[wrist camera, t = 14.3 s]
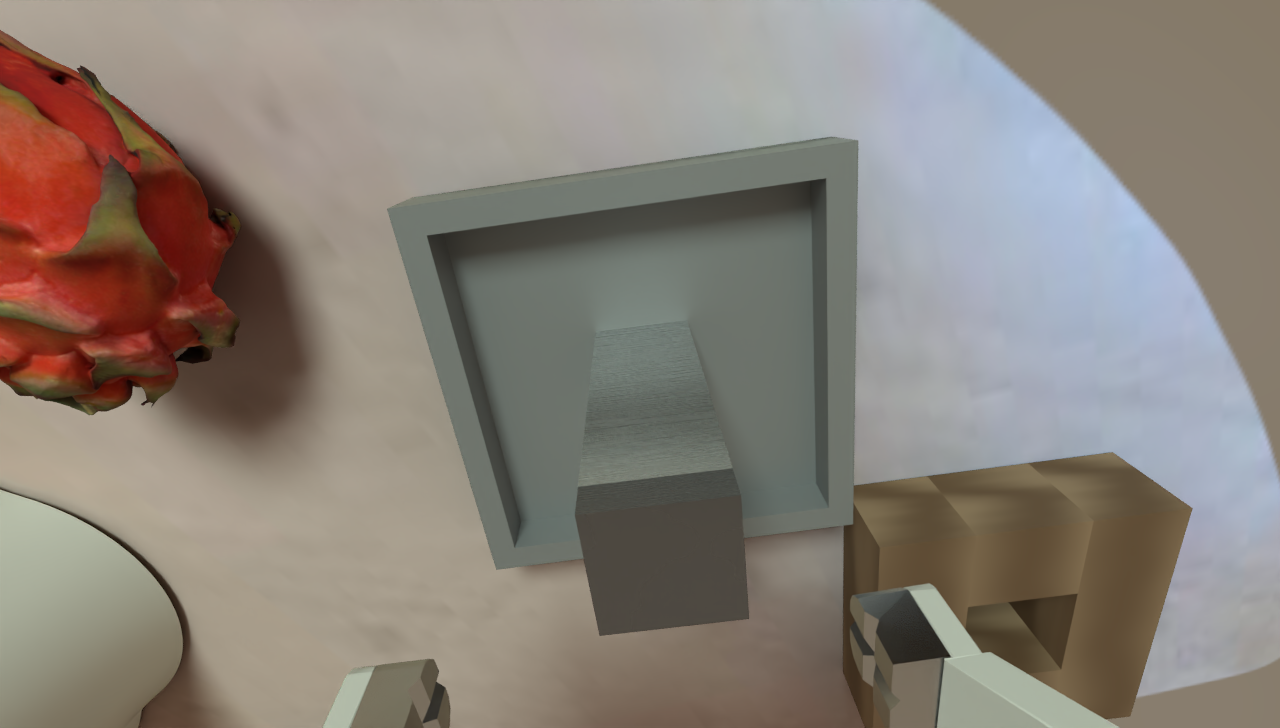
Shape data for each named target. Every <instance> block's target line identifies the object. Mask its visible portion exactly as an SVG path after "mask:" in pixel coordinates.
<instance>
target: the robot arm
mask: <svg viewBox="0 0 1280 728" xmlns="http://www.w3.org/2000/svg"><path fill="white" fill-rule="evenodd" d="M850 611H851V613H852V615H853V617H854V619H855V622H854V623H853V624H852V625H851V626H850V643H851V648H852V653H853V657H854V660H855V662H856V665H857V668H858V670H859V672H860V675H861V677H862V679H863V680H864V681H865V682H867V683H868V684H869V685H871V686H872V687H873V703H874V705H875V707H876V709H877V711H878V714H879V716H880V718H881V720H882V722H883V724H884V726H885V728H1119V727H1117V726H1116V725H1114V724H1112V723H1111V722H1109V721H1107V720H1105V719H1104V718H1102V717H1100V716H1099V715H1097V714H1095V713H1094V712H1092V711H1090V710H1088V709H1087V708H1085V707H1083V706H1082V705H1080V704H1078V703H1077V702H1075V701H1073V700H1071V699H1070V698H1068V697H1066V696H1065V695H1063V694H1061V693H1059V692H1058V691H1056V690H1054V689H1053V688H1051V687H1049V686H1048V685H1046V684H1044V683H1042V682H1041V681H1039V680H1037V679H1036V678H1034V677H1032V676H1030V675H1029V674H1027V673H1025V672H1024V671H1022V670H1020V669H1019V668H1017V667H1015V666H1013V665H1012V664H1010V663H1008V662H1007V661H1005V660H1003V659H1001V658H1000V657H998V656H996V655H995V654H993V653H991V652H986V653H982V652H981V650H980V649H979V648H978V646H977V645H976V643H975V642H974V641H973V639H972V638H971V636H970V635H969V634H968V632H967V631H966V629H965V628H964V627H963V625H962V624H961V623H960V621H959V620H958V618H957V617H956V616H955V614H954V613H953V611H952V610H951V609H950V607H949V606H948V604H947V603H946V602H945V600H944V599H943V597H942V596H941V595H940V593H939V592H938V590H937V589H936V588H935V587H934V586H933V585H931V584H930V583H928V584H922V585H915V586H909V587H904V588H901V587H900V588H894V589H888V590H882V591H876V592H869V593H863V594H857V595H852V598H851V600H850ZM182 651H183V637H182V630H181V626H180V622H179V619H178V616H177V614H176V611H175V609H174V607H173V605H172V603H171V601H170V599H169V598H168V596H167V594H166V593H165V591H164V590H163V588H162V587H161V586H160V584H159V583H158V582H157V580H156V579H155V578H154V577H153V576H152V574H151V573H150V572H149V571H148V570H147V569H146V568H145V567H144V566H143V565H142V564H141V563H140V562H139V561H138V560H137V559H136V558H135V557H134V556H133V555H131V554H130V553H129V552H128V551H127V550H125V549H124V548H123V547H122V546H120V545H119V544H118V543H116V542H115V541H114V540H112V539H111V538H109V537H108V536H106V535H105V534H103V533H102V532H100V531H98V530H97V529H95V528H93V527H92V526H90V525H88V524H87V523H85V522H83V521H81V520H79V519H77V518H75V517H73V516H71V515H69V514H67V513H65V512H62V511H60V510H58V509H55V508H53V507H51V506H48V505H45V504H43V503H40V502H37V501H34V500H31V499H28V498H25V497H21V496H18V495H15V494H12V493H9V492H6V491H3V490H0V728H138V726H139V722H140V718H141V712H142V709H143V707H144V706H145V705H146V704H147V703H148V702H150V701H151V700H152V699H153V698H154V697H155V696H156V695H157V694H158V693H159V692H161V691H162V690H163V689H164V688H165V687H166V686H167V685H168V683H169V682H170V681H171V680H172V678H173V677H174V675H175V673H176V671H177V669H178V667H179V664H180V661H181V657H182ZM438 674H439V670H438V667H437V665H436V663H435V661H434V659H424V660H416V661H407V662H399V663H391V664H383V665H377V666H369V667H362V668H354V669H352V670H351V671H350V672H349V673H348V675H347V676H346V677H345V679H344V681H343V684H342V686H341V688H340V690H339V692H338V695H337V697H336V699H335V701H334V703H333V706H332V708H331V710H330V712H329V714H328V717H327V719H326V721H325V723H324V725H323V728H449V727H450V702H449V696H448V693H447V691H446V688H445V687H444V686H442V685H441V684H439V683H437V682H436V681H437V677H438Z"/></svg>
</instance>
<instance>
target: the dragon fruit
mask: <svg viewBox="0 0 1280 728" xmlns="http://www.w3.org/2000/svg"><path fill="white" fill-rule="evenodd" d="M80 67H81V68H77V70H78V71H79V73H78V72H76V71H74V70H72V69H70V68H68V67H66V66H63V65H61V64H59V63H57V62H54V61H52V60H50V59H48V58H46V57H45V56H43V55H41V54H39V53H37V52H35V51H33V50H31V49H29V48H28V47H26V46H25V45H23V44H22V43H20V42H19V41H17V40H16V39H14V38H13V37H11V36H9V35H8V34H6V33H4V32H3V31H1V30H0V379H1V381H3V382H4V383H6V384H7V385H9V386H10V387H11V388H12V389H13V390H14V391H15V393H16V394H18V395H20V396H34V397H35V398H36V399H38V398H39V399H42V400H45V401H53V402H57V403H60V404H64V405H67V406H70V407H72V408H75V409H77V410H80V411H83V412H85V413H86V414H88V415H94V414H95V413H96V412H98V411H109V410H111V409H114V408H117V407H119V406H121V405H123V404H125V403H126V402H127V401H128V400H129V399H130V398H131V396H132V388H133V386H135V387H142V388H143V389H144V391H145V393H146V398H147V400H146V401H145V402H143V403H142V404H141V405H145V403H148V402H151V403H153V404H154V403H155V402H156V401H157V400H158V398H160V397H161V396H162V395H164V394H165V393H167V392H169V391H170V390H171V389H172V387H173V386H174V384H175V382H176V378H177V377H178V368H177V365H176V362H175V361H184V362H188V363H192V364H193V363H199V362H205V361H208V360H210V359H211V358H212V351H213V347H221V348H230V347H232V346H234V341H235V332H236V330H237V328H238V326H239V324H240V319H239V318H237V316H236V315H235V314H234V313H233V312H232V311H231V310H230V309H229V308H227V306H226V303H224V301H223V300H222V299H220V298H218V297H217V296H216V295H215V294H213V292H212V288H213V285H214V283H215V280H216V277H217V275H218V272H219V270H220V267H221V265H222V262H223V259H224V256H225V253H226V251H227V250H228V249H229V248H230V247H231V246H232V245H233V243H234V241H235V239H236V238H237V232H238V231H239V230H240V228H241V225H240V222H239V220H238V218H237V217H236V215H235V214H233V213H232V212H230V211H229V213H227V212H225V211H222V210H219V209H216V208H213V212H212V215H211V217H210V219H209V218H208V204H207V199H206V197H205V196H204V194H203V192H202V187H201V186H200V184H199V182H198V180H197V179H196V178H195V177H194V176H193V175H192V174H191V173H190V172H189V171H188V170H187V169H186V168H185V166H184V164H183V162H182V159H181V158H180V157H178V156H177V154H176V153H175V152H174V151H173V150H172V149H171V148H170V147H169V146H170V143H169V142H168V140H167V139H166V138H165V137H164V136H163V135H161V134H160V133H158V132H157V131H155V130H153V129H152V128H151V127H150V126H148V125H147V124H146V123H145V122H144V121H143V120H142V119H141V118H139V117H138V116H137V115H136V114H135V113H134V112H133V111H131V110H130V109H129V108H128V107H126V106H125V105H124V104H123V103H122V102H120V101H119V100H118V99H116V98H115V97H114V96H113V95H110V94H109V93H108V92H107V91H106V90H105V89H104V88H103V87H102V86H101V84H100V82H99V81H98V79H97V77H96V75H95V74H94V73H92V72H91V71H89V70H88V69H86V68H85V67H83V66H80ZM185 347H188V349H187V350H186V351H185V352H184V353H182V354H181V355H180V356H179V357H178V358H177V359H176V360H175V357H174V355H173V352H175V351H176V350H178V349H180V348H185ZM152 406H153V405H152Z"/></svg>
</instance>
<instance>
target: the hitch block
mask: <svg viewBox="0 0 1280 728" xmlns="http://www.w3.org/2000/svg"><path fill="white" fill-rule="evenodd" d="M1191 512H1192V508H1191V507H1190V506H1188V505H1187V504H1186V503H1184V502H1183V501H1181V500H1180V499H1178V498H1177V497H1176V496H1174V495H1173V494H1171V493H1170V492H1168V491H1167V490H1166V489H1164V488H1163V487H1161V486H1160V485H1159V484H1157V483H1156V482H1154V481H1153V480H1151V479H1150V478H1149V477H1147V476H1146V475H1144V474H1143V473H1141V472H1140V471H1139V470H1137V469H1136V468H1134V467H1133V466H1131V465H1130V464H1129V463H1127V462H1126V461H1124V460H1123V459H1121V458H1120V457H1119V456H1117V455H1116V454H1114V453H1113V452H1112V453H1104V454H1096V455H1088V456H1081V457H1073V458H1065V459H1057V460H1050V461H1042V462H1034V463H1026V464H1019V465H1011V466H1003V467H995V468H988V469H980V470H972V471H964V472H957V473H949V474H941V475H933V476H926V477H918V478H910V479H902V480H895V481H887V482H879V483H871V484H864V485H856V486H854V493H853V524H852V525H844V604H843V673H844V675H845V678H846V680H847V683H848V686H849V688H850V691H851V693H852V696H853V698H854V701H855V703H856V706H857V708H858V711H859V713H860V716H861V719H862V721H863V724H864V726H865V728H885V726H884V724H883V722H882V720H881V718H880V716H879V714H878V711H877V709H876V707H875V705H874V703H873V687H872V686H871V685H869V684H868V683H867V682H865V681H864V680H863V679H862V677H861V675H860V672H859V670H858V668H857V665H856V662H855V660H854V657H853V653H852V648H851V643H850V626H851V625H852V624H853V623H854V622H855V619H854V617H853V615H852V613H851V611H850V600H851V598H852V595H857V594H863V593H869V592H876V591H882V590H888V589H894V588H900V587H901V588H904V587H909V586H915V585H922V584H928V583H930V584H931V585H933V586H934V587H935V588H936V589H937V590H938V592H939V593H940V595H941V596H942V597H943V599H944V600H945V602H946V603H947V604H948V606H949V607H950V609H951V610H952V611H953V613H954V614H955V616H956V617H957V618H958V620H959V621H960V623H961V624H962V625H963V627H964V628H965V629H966V631H967V632H968V634H969V635H970V636H971V638H972V639H973V641H974V642H975V643H976V645H977V646H978V648H979V649H980V650H981V652H982V653H986V652H991V653H993V654H995V655H996V656H998V657H1000V658H1001V659H1003V660H1005V661H1007V662H1008V663H1010V664H1012V665H1013V666H1015V667H1017V668H1019V669H1020V670H1022V671H1024V672H1025V673H1027V674H1029V675H1030V676H1032V677H1034V678H1036V679H1037V680H1039V681H1041V682H1042V683H1044V684H1046V685H1048V686H1049V687H1051V688H1053V689H1054V690H1056V691H1058V692H1059V693H1061V694H1063V695H1065V696H1066V697H1068V698H1070V699H1071V700H1073V701H1075V702H1077V703H1078V704H1080V705H1082V706H1083V707H1085V708H1087V709H1088V710H1090V711H1092V712H1094V713H1095V714H1097V715H1099V716H1100V717H1102V718H1104V719H1111V718H1120V717H1129V716H1130V715H1131V712H1132V708H1133V705H1134V702H1135V699H1136V695H1137V692H1138V689H1139V685H1140V682H1141V679H1142V675H1143V672H1144V669H1145V665H1146V662H1147V659H1148V655H1149V652H1150V649H1151V645H1152V642H1153V639H1154V635H1155V632H1156V628H1157V625H1158V622H1159V618H1160V615H1161V612H1162V608H1163V605H1164V602H1165V598H1166V595H1167V592H1168V588H1169V585H1170V582H1171V578H1172V575H1173V572H1174V568H1175V565H1176V562H1177V558H1178V555H1179V552H1180V548H1181V545H1182V542H1183V538H1184V535H1185V532H1186V528H1187V525H1188V522H1189V518H1190V515H1191Z"/></svg>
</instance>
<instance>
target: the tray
mask: <svg viewBox="0 0 1280 728" xmlns="http://www.w3.org/2000/svg"><path fill="white" fill-rule="evenodd" d="M857 196H858V140H852V139H845V138H837V137H827V138H820V139H813V140H806V141H799V142H792V143H786V144H779V145H772V146H765V147H758V148H751V149H744V150H737V151H731V152H724V153H717V154H710V155H703V156H696V157H689V158H682V159H676V160H669V161H662V162H655V163H648V164H641V165H634V166H627V167H621V168H614V169H607V170H600V171H593V172H586V173H579V174H573V175H566V176H559V177H552V178H545V179H538V180H531V181H524V182H518V183H511V184H504V185H497V186H490V187H483V188H476V189H469V190H463V191H456V192H449V193H442V194H435V195H428V196H421V197H414V198H411V199H409V200H406V201H404V202H402V203H399V204H397V205H395V206H392V207H390V208H388V209H387V210H388V214H389V217H390V220H391V223H392V227H393V230H394V233H395V237H396V240H397V243H398V247H399V250H400V253H401V256H402V260H403V263H404V266H405V270H406V273H407V276H408V280H409V283H410V286H411V289H412V293H413V296H414V299H415V303H416V306H417V309H418V313H419V316H420V319H421V322H422V326H423V329H424V332H425V336H426V339H427V342H428V346H429V349H430V352H431V355H432V359H433V362H434V365H435V369H436V372H437V375H438V379H439V382H440V385H441V388H442V392H443V395H444V398H445V402H446V405H447V408H448V412H449V415H450V418H451V421H452V425H453V428H454V431H455V435H456V438H457V441H458V445H459V448H460V451H461V454H462V458H463V461H464V464H465V468H466V471H467V474H468V478H469V481H470V484H471V487H472V491H473V494H474V497H475V501H476V504H477V507H478V511H479V514H480V517H481V520H482V524H483V527H484V530H485V534H486V537H487V540H488V544H489V547H490V550H491V553H492V557H493V560H494V563H495V567H496V570H498V569H506V568H514V567H521V566H529V565H537V564H545V563H553V562H561V561H569V560H576V559H584V558H583V553H582V548H581V543H580V538H579V533H578V529H577V524H576V519H575V508H576V499H577V491H578V482H579V473H580V465H581V456H582V447H583V438H584V430H585V421H586V412H587V404H588V395H589V386H590V377H591V369H592V360H593V351H594V343H595V334H596V332H597V331H605V330H613V329H621V328H629V327H637V326H645V325H653V324H660V323H668V322H676V321H684V320H687V322H688V325H689V328H690V331H691V335H692V338H693V341H694V344H695V348H696V351H697V354H698V357H699V361H700V364H701V367H702V370H703V374H704V377H705V380H706V383H707V387H708V390H709V393H710V396H711V399H712V403H713V406H714V409H715V412H716V416H717V419H718V422H719V425H720V429H721V432H722V435H723V438H724V442H725V445H726V448H727V451H728V455H729V458H730V461H731V464H732V467H733V471H734V474H735V477H736V480H737V484H738V487H739V490H740V493H741V502H742V517H743V533H744V538H749V537H757V536H765V535H773V534H781V533H789V532H797V531H805V530H812V529H820V528H828V527H836V526H844V525H852V524H853V493H854V419H855V344H856V270H857Z"/></svg>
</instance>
